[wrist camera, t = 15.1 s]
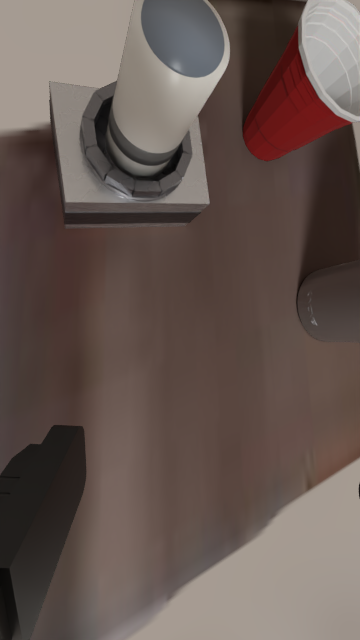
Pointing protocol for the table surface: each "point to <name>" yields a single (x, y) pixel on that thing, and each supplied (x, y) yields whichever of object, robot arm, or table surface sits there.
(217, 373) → the table surface
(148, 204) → the banded square pedestal
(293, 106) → the plastic cup
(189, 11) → the lens barrel
